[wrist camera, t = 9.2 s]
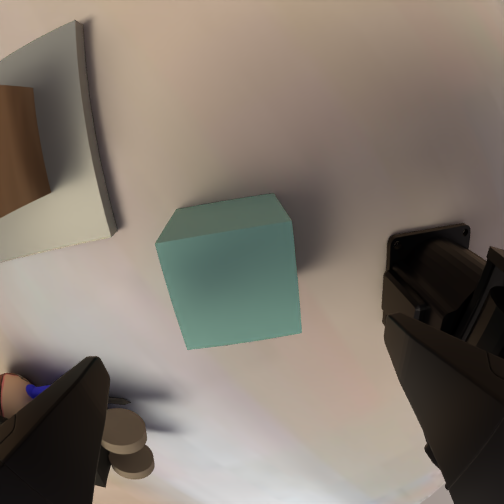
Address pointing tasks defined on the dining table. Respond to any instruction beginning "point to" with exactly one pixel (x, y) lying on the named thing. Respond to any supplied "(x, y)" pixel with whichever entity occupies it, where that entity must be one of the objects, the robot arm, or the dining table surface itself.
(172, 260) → the teal block
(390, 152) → the dining table surface
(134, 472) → the figurine character
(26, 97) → the walnut block
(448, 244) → the robot arm
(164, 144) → the dining table surface
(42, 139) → the base plate
